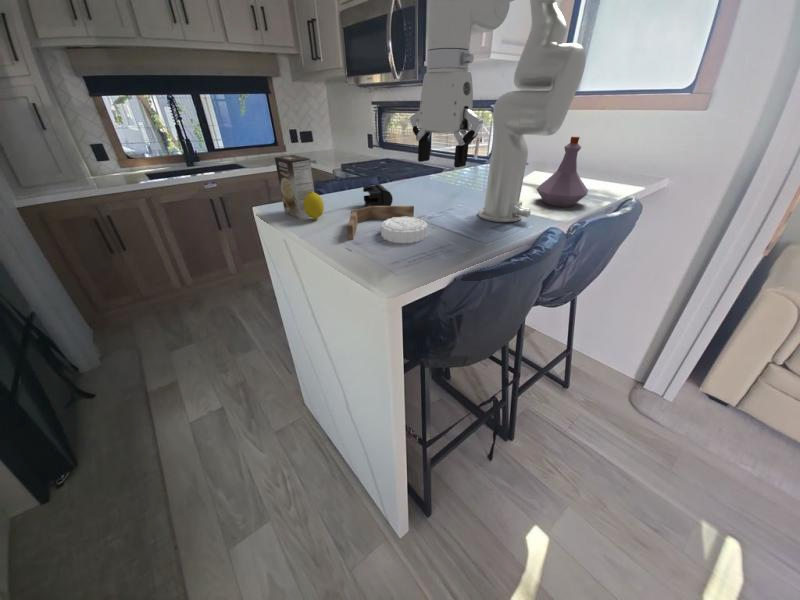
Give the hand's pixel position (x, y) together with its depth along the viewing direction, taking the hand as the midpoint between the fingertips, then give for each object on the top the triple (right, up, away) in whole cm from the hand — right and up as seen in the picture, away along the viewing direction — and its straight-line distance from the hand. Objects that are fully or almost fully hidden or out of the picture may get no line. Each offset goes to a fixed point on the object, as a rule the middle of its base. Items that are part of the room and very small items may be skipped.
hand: (441, 163), depth 69 cm
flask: (+45, +4, +42) cm, 61 cm away
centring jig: (-16, -7, +23) cm, 29 cm away
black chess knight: (-16, +1, +37) cm, 40 cm away
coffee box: (-39, -3, +31) cm, 50 cm away
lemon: (-33, -5, +27) cm, 43 cm away
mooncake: (-8, -12, +16) cm, 22 cm away
